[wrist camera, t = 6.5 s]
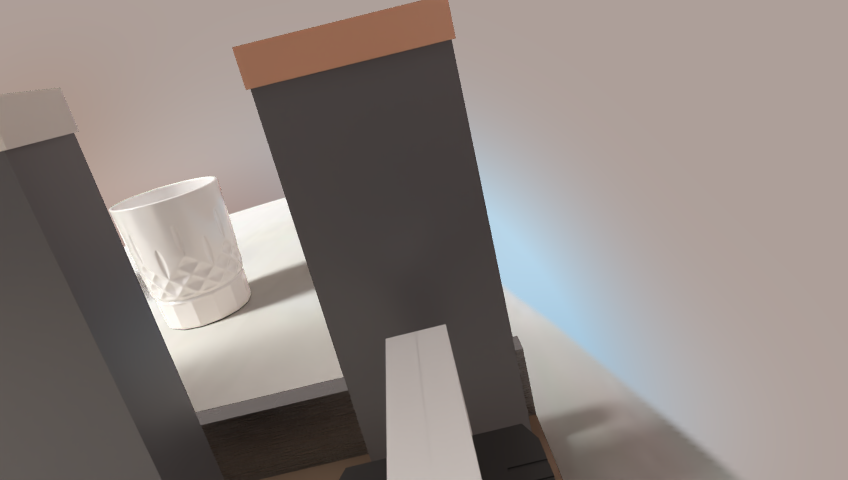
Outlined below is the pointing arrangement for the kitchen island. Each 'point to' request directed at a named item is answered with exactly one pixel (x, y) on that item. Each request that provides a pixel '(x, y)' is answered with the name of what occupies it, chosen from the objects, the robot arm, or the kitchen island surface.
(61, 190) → the key middle
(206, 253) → the white cup
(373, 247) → the key
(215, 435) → the key console
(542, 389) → the kitchen island surface
